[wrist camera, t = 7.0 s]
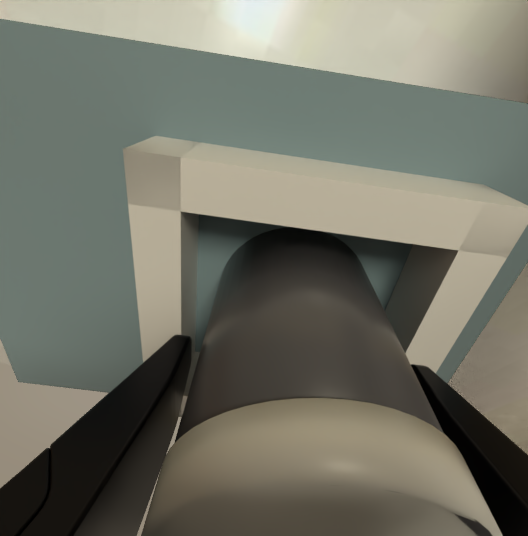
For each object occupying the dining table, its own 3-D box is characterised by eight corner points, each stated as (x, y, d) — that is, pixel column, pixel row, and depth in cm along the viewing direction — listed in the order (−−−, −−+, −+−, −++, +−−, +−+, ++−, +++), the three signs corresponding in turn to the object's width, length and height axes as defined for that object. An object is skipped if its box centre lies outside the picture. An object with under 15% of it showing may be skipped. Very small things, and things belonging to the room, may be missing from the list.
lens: (391, 235, 9) (600, 506, 3) (346, 355, 12) (418, 627, 6) (221, 213, 9) (118, 457, 3) (214, 340, 12) (150, 605, 6)
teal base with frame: (514, 108, 11) (725, 128, 6) (389, 361, 18) (436, 476, 12) (-1, 26, 10) (-281, -34, 5) (70, 321, 17) (-20, 425, 12)
